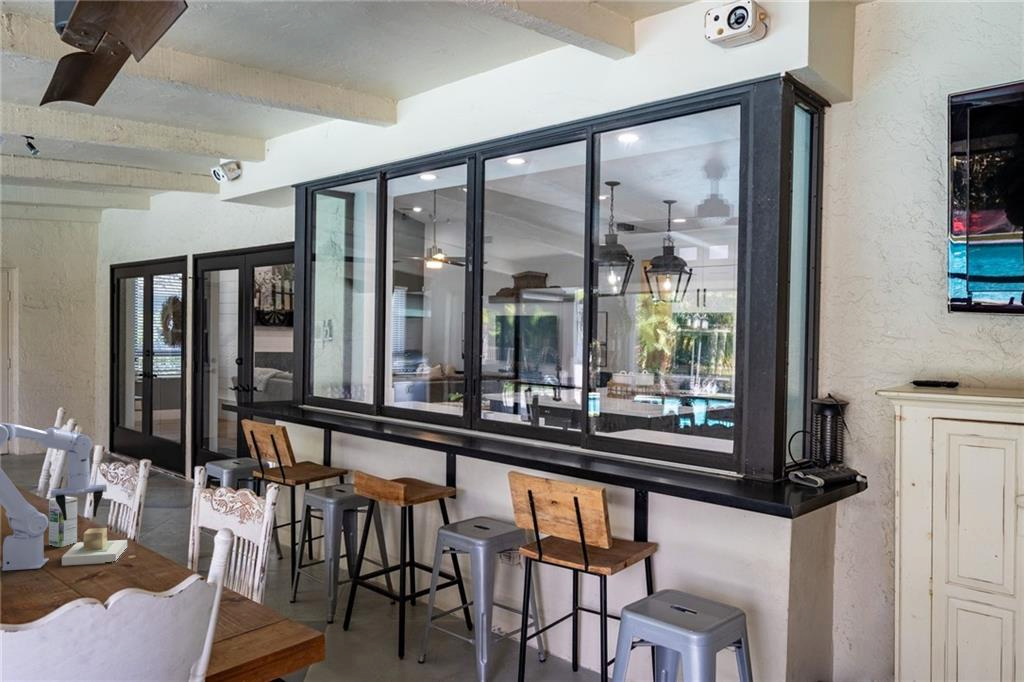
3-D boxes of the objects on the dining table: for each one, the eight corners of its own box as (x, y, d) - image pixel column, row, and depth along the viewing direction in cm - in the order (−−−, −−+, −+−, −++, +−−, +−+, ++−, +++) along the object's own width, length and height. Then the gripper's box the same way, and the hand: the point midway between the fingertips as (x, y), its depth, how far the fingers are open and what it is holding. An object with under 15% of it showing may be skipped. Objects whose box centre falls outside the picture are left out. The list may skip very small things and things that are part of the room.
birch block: (83, 550, 222) (83, 533, 221) (88, 545, 226) (88, 528, 226) (102, 549, 223) (102, 532, 223) (107, 544, 228) (106, 527, 228)
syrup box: (47, 545, 235) (47, 499, 234) (65, 540, 240) (65, 495, 240) (60, 547, 233) (60, 501, 232) (78, 542, 238) (78, 496, 238)
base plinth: (61, 565, 217) (61, 555, 216) (76, 550, 230) (76, 541, 230) (115, 562, 220) (115, 552, 220) (127, 547, 234) (127, 538, 234)
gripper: (50, 478, 221) (51, 524, 221) (106, 473, 228) (107, 517, 229) (50, 473, 227) (52, 518, 228) (105, 468, 234) (107, 512, 235)
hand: (80, 517), depth 229 cm, fingers open, 7 cm apart
